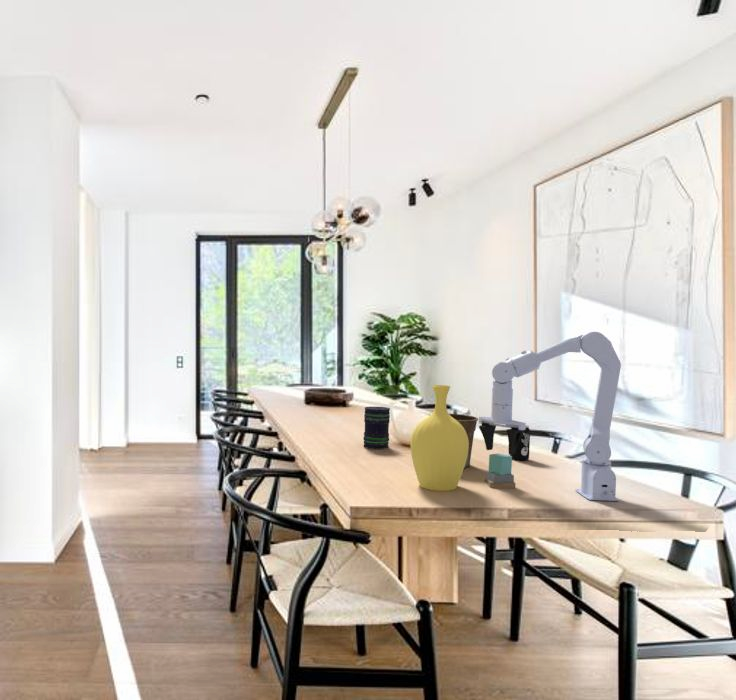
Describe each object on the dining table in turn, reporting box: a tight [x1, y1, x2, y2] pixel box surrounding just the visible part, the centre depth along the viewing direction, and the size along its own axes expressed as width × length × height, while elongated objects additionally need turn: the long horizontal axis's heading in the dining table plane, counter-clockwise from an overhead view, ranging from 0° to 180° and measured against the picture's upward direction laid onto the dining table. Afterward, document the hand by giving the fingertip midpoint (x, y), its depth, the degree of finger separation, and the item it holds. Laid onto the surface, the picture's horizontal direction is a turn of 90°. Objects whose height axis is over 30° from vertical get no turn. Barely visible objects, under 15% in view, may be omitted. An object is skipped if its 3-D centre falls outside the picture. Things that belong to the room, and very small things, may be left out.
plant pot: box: [429, 413, 479, 469], centre depth 175 cm, size 16×16×16 cm
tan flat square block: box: [484, 476, 516, 489], centre depth 151 cm, size 7×7×2 cm
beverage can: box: [509, 425, 531, 462], centre depth 188 cm, size 7×7×12 cm
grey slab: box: [485, 469, 515, 483], centre depth 151 cm, size 6×6×2 cm
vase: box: [410, 384, 469, 492], centre depth 147 cm, size 16×16×28 cm
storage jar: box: [363, 406, 391, 450], centre depth 202 cm, size 10×10×15 cm
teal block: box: [488, 452, 513, 475], centre depth 151 cm, size 4×4×5 cm
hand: (500, 451), depth 151 cm, fingers open, 7 cm apart
